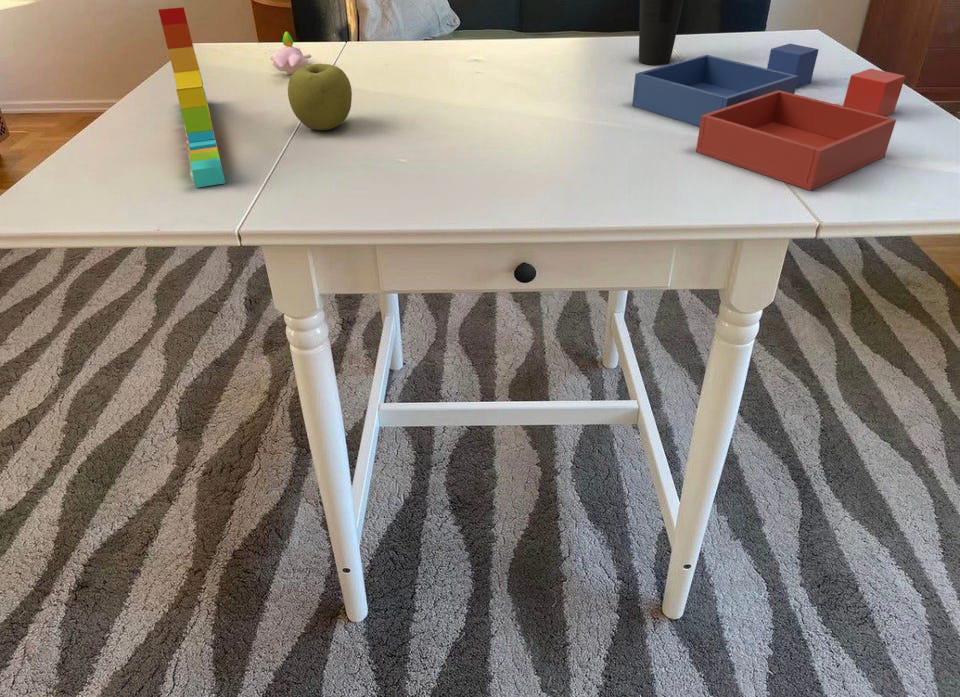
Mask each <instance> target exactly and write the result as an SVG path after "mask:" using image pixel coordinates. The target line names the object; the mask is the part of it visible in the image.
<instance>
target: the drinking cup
mask: <svg viewBox="0 0 960 697" xmlns="http://www.w3.org/2000/svg"><path fill="white" fill-rule="evenodd" d="M683 4H684V0H639V22H638V23H639V24H638V25H639V29H638V30H639V31H638V33H639V34H638V62H639V63H641V64H644V65H648V66H649V65H650V66H665V65H669V63H670V64H671V60H672V57H673V56H672V55H673V50H674V45H675V43H676V42H675V41H676V37H677V32H678V28H679V23H680V19H681V14H682V9H683Z"/></svg>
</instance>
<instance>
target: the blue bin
mask: <svg viewBox="0 0 960 697" xmlns="http://www.w3.org/2000/svg"><path fill="white" fill-rule="evenodd" d="M798 77H799V76H797V75H793V74H788V73H784V72H780V71H775V70H771V69H767V67H762V66H757V65H754V64H749V63H746V62H745V63H744V62H740V61H735V60H732V59H727V58H722V57H718V56H715V55H709V54H703V55H699V56H695V57H692V58H688V59H685V60H684V59H683V60H681V61H677V62H673V63H670V64H669V63H668V64H664V65H661V66H658V67H655V68H650V69H647V70H643V71H640V72H635V76H634V84H633V93H632V102H631V106H633V107H636V108H639V109H641V110H645V111H649V112H650V113H651V112H652V113H655V114H658V115H662V116H664V117H668V118H671V119H674V120H677V121H681V122H684V123H687V124H690V125H692V126H695V127H699V128H700V122H701V116H702V115H704V114H707V113H710V112H713V111H716V110H719V109H723V108H726V107H729V106H732V105H735V104H738V103H741V102H744V101H747V100H750V99H753V98H756V97H759V96H762V95H765V94H768V93H771V92H774V91H777V90H780V91H784V92H788V93H792V94H796V89H797V87H796V85H797V81H798Z"/></svg>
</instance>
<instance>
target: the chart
mask: <svg viewBox="0 0 960 697" xmlns="http://www.w3.org/2000/svg"><path fill="white" fill-rule="evenodd" d="M158 14H159V18H160V23H161V27H162V30H163V35H164V39H165V44H166V47H167V51H168V56H169V59H170V63H171V68H172V71H173V72H172V73H173V77H174V80H175V81H174V82H175V87H176V88H175V90H176V91H175V92H176V95H177V99H178V102H179V107H180V111H181V115H182V120H183V125H184V126H183V128H184V131H185V139H186V140H185V141H186V149H187V157H188V164H189V168H190V169H189V172H190V173H189V174H190V178H191V181H192V182H194V185H195V188H196V189H197V188H198V189H199V188H203V187H210V186H216V185H217V186H219V185H223V184H226V179H225V178H226V177H225V174H224V171H223V166H222V165H223V164H222V160H221V157H220V156H221V155H220V153H219V148H218V147H219V146H218V143H217V139H216V134H215V129H214V125H213V122H212V117H211V113H210V108H209V104H208V99H207V95H206V91H205V88H204V82H203V78H202V74H201V70H200V66H199V63H198V58H197V54H196V52H195V48H194V43H193V40H192V36H191V32H190V27H189V24H188V19H187V15H186V10H185V7H171V8H160V9H158Z"/></svg>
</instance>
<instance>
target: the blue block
mask: <svg viewBox="0 0 960 697" xmlns="http://www.w3.org/2000/svg"><path fill="white" fill-rule="evenodd" d="M819 51H820V50H819V49H818V48H815V47H810V46H804V45H799V44H794V43H787V44H783V45H780V46H776V47H771V49H770V51H769V56H768V61H767V67H766V68H767V69H771V70H775V71H780V72H784V73H788V74H793V75H797V76H799V77H798V81H797V85H796V88H800V87H802V86H806V85H809V84H811V83H812V79H813V75H814V71H815V67H816V63H817V58H818V54H819Z"/></svg>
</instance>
